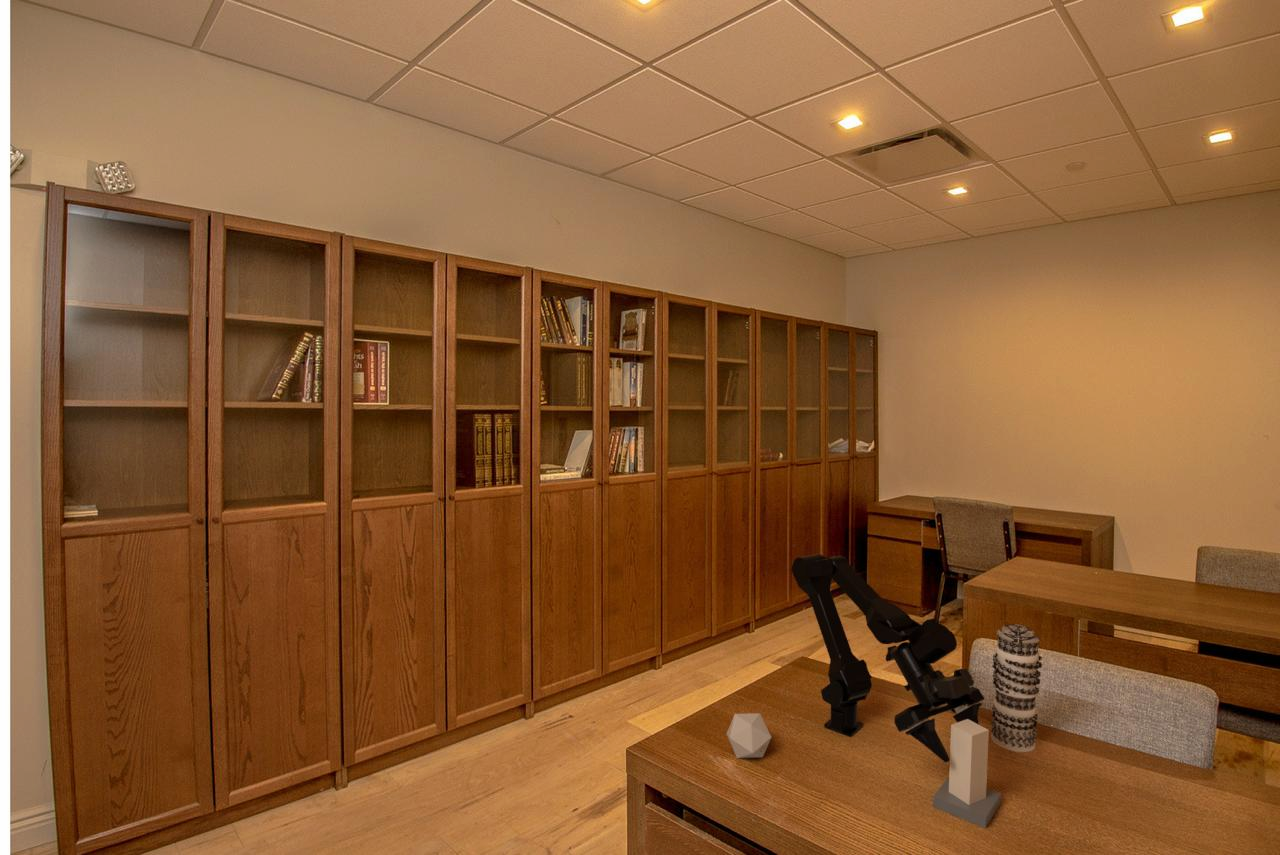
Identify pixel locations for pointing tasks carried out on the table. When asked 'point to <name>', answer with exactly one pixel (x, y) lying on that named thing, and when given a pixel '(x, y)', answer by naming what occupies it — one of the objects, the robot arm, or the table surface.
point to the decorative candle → (1015, 688)
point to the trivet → (973, 813)
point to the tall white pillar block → (968, 761)
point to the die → (748, 735)
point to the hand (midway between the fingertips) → (965, 755)
